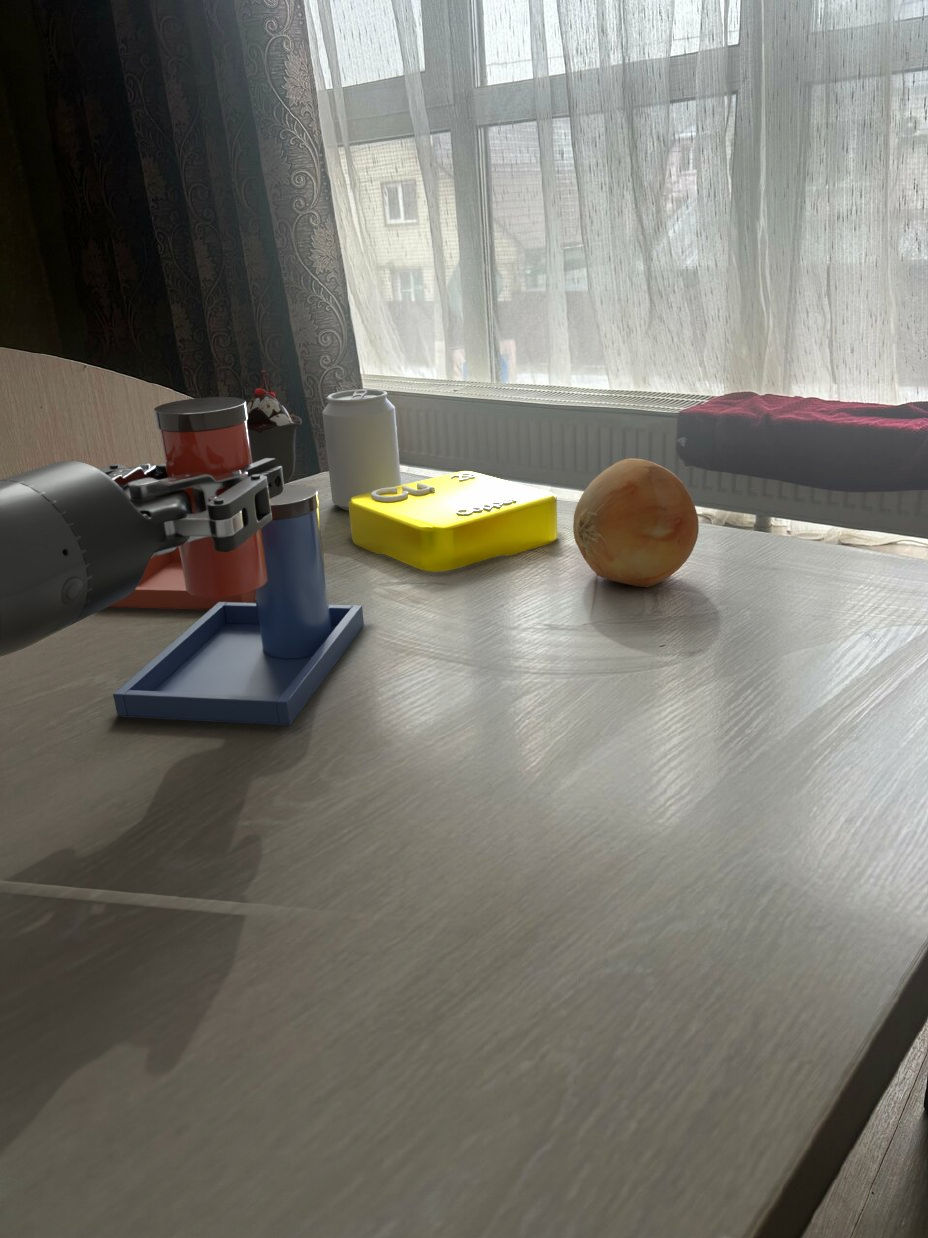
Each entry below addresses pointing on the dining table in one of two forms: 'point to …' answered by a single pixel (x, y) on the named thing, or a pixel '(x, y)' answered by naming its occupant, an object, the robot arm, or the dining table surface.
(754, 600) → the dining table surface
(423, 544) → the element tile
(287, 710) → the blue tray
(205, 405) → the red jar
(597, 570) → the onion
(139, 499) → the robot arm
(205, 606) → the red tray
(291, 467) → the sundae
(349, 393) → the can
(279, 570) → the blue jar
